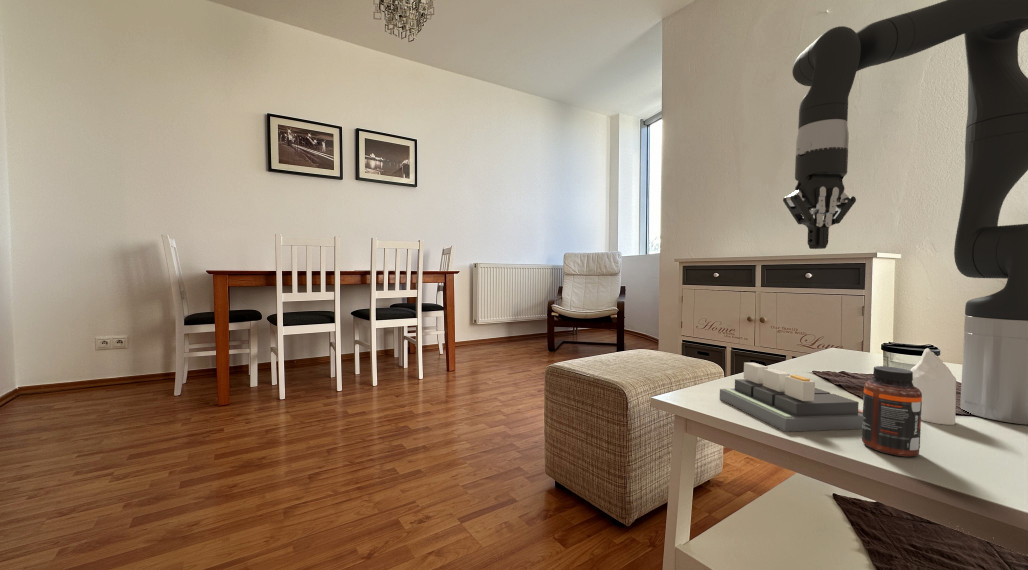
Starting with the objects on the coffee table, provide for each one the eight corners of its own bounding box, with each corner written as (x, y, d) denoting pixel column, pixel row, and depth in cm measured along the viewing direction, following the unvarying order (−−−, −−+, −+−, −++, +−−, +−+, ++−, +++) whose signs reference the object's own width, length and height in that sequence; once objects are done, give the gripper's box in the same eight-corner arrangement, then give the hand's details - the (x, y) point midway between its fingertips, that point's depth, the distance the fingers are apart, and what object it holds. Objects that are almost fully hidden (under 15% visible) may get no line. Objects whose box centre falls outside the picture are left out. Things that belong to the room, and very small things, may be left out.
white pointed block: (969, 353, 65) (927, 351, 66) (965, 426, 65) (924, 423, 67) (939, 346, 71) (901, 344, 72) (936, 414, 71) (898, 411, 73)
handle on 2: (773, 385, 73) (773, 368, 72) (789, 391, 69) (789, 373, 69) (762, 385, 72) (763, 368, 72) (778, 391, 69) (779, 374, 69)
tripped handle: (795, 393, 68) (796, 374, 67) (814, 400, 64) (815, 380, 64) (784, 394, 67) (785, 374, 67) (802, 401, 64) (803, 380, 64)
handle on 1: (753, 378, 77) (753, 362, 77) (767, 383, 74) (767, 367, 74) (743, 378, 77) (744, 362, 77) (757, 383, 74) (757, 367, 74)
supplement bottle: (932, 461, 53) (936, 375, 53) (879, 456, 54) (883, 372, 54) (898, 442, 59) (902, 365, 58) (851, 438, 60) (855, 362, 60)
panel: (794, 397, 80) (795, 377, 80) (876, 428, 64) (877, 403, 64) (719, 399, 78) (720, 378, 78) (785, 431, 62) (786, 406, 62)
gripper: (834, 159, 77) (831, 250, 77) (771, 155, 75) (768, 249, 76) (874, 147, 69) (870, 248, 70) (805, 143, 68) (801, 246, 68)
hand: (817, 248), depth 73 cm, fingers closed
